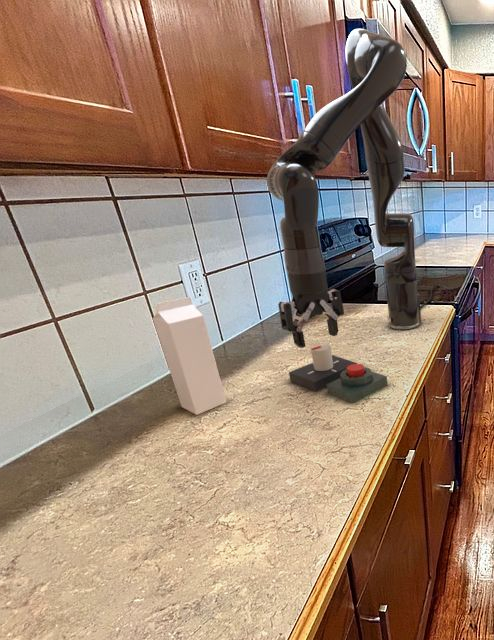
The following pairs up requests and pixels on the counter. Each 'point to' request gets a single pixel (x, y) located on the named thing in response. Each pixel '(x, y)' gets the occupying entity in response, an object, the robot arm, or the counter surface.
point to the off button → (355, 370)
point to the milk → (189, 355)
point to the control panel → (319, 374)
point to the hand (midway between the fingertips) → (317, 340)
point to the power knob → (322, 357)
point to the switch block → (356, 385)
